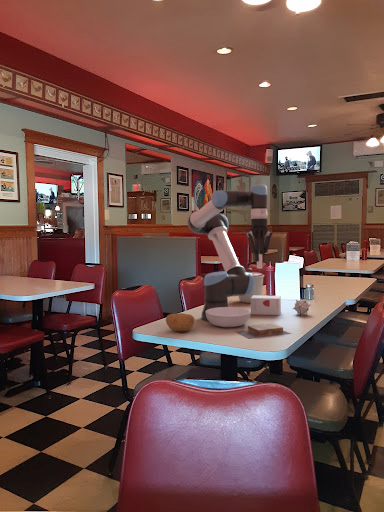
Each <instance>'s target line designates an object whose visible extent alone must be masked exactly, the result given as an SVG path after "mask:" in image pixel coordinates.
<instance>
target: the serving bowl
mask: <svg viewBox="0 0 384 512" xmlns="http://www.w3.org/2000/svg"><path fill="white" fill-rule="evenodd" d="M205 313H206V317H207V319H208V321H207V322H209V323H211V324H212V325H214V326H217V327H220V328H235V327H240V326H243V325H245V324H246V323H247V322H249V320H250V318H251V310H249V309H247V308H243V307H236V306H234V307H232V306H229V307H218V308H211V309H208V310H206V311H205Z"/></svg>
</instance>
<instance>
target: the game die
mask: <svg viewBox="0 0 384 512" xmlns="http://www.w3.org/2000/svg"><path fill="white" fill-rule="evenodd" d="M295 301H296V302H295V303H294V307H293V308H292V310H295V311H296V312H297V313H296V314H299V316H302V315H305V314H306V315H308V311H309V310H310V309H309V307H311V304H309V303H308V302H307V300H304V298H302V299H300V300H298V299H295Z"/></svg>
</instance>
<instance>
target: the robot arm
mask: <svg viewBox="0 0 384 512" xmlns="http://www.w3.org/2000/svg"><path fill="white" fill-rule="evenodd" d="M268 194H269V193H268V187H267V185H266V184H253V185H251V186H250V190H222V189H220V190H214V191H213V193H212V195H211V200H209V201H208V202H207V203H206V204H205V205H203V206H202V207H201V208H200V209H198V210H197V211H194V212H192V213H191V214H190V215H189V216H188V217H187V218H188V219H187V226H188V228H189V230H190V231H191V232H192V233H194V234H196V235H206V236H207V237H208V240H209V241H212V243H213V246H214V248H215V250H216V253H217V255H218V257H219V260H220V263H221V264H222V267H223V271H222V270H221V271H214V272H209V273H207V274H205V276H204V278H203V279H204V280H203V281H204V282H203V286H204V287H203V291H204V304H203V308H202V312H201V320H203V321H207V322H209V321H208V319H207V317H206V313H205V311H206V310H208V309H211V308H218V307H230V306H229V303H228V302H229V301H228V300H229V299H228V298H230V297H239V296H241V295H242V296H244V295H248V294H250V293H251V292H252V291H253V289H254V277H253V275H252V273H249V272H247V269H245V267H244V266H242V265H241V264H240V262H239V260H238V257H237V256H236V253H235V251H234V248H233V246H232V244H231V242H230V239H229V237H228V231H229V227H230V226H229V225H230V224H229V221H228V218H227V216H226V215H224V214H222V213H221V212H222V211H223V210H225V209H227V208H228V207H229V208H230V207H234V208H235V207H238V208H239V207H241V208H248V207H250V215H251V216H250V218H251V219H250V224H251V226H250V227H251V228H250V231H249V232H247V233H246V234H245V236H246V237H247V238H248V243H249V249H250V252H251V254H254V255H255V256H254V259H255V262H256V269H263V262H264V260H265V257H264V255H265V254H267V253H268V251H269V246H270V242H271V238H272V235H273V232H270V231H269V230H268V229H269V228H268Z"/></svg>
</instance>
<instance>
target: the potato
mask: <svg viewBox="0 0 384 512" xmlns="http://www.w3.org/2000/svg"><path fill="white" fill-rule="evenodd" d="M195 321H196V319H195V317H194V316H193V315H192V314H189V313H183V312H182V313H181V312H180V313H179V312H178V313H170V314H168V315H166V318H165V322H166V325H167V326H168V328H169V329H170V330H172V331H175V332H178V333H179V332H180V333H183V332H188V331H189V330H191V329H192V328H193V327H194V325H195V323H196V322H195Z"/></svg>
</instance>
